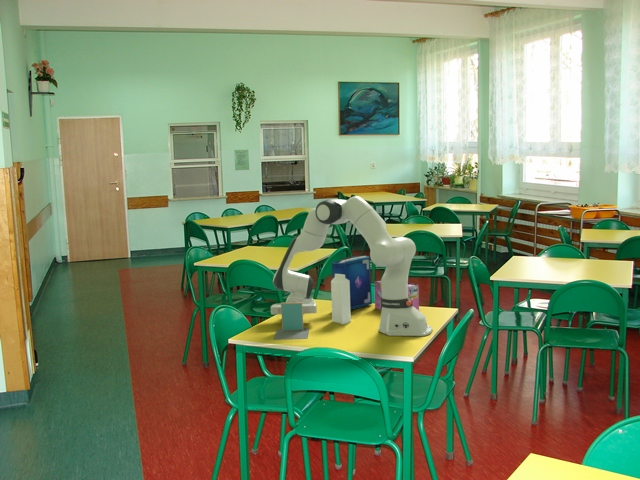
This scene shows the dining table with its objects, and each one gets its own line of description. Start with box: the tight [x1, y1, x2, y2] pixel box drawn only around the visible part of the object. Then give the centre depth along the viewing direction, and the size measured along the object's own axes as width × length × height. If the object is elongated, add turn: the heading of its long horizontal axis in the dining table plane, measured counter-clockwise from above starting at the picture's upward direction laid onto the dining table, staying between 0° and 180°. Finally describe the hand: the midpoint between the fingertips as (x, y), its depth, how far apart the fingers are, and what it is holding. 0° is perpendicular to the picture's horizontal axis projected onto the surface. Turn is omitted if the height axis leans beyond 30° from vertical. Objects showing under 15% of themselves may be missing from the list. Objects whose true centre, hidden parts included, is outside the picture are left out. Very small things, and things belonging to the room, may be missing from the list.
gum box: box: [374, 280, 420, 311], centre depth 311 cm, size 24×8×14 cm, turn 39°
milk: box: [330, 274, 352, 326], centre depth 290 cm, size 6×6×22 cm
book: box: [331, 255, 373, 311], centre depth 318 cm, size 22×7×25 cm, turn 132°
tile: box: [281, 301, 305, 331], centre depth 277 cm, size 2×9×12 cm, turn 88°
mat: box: [273, 327, 310, 341], centre depth 272 cm, size 17×14×1 cm
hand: (292, 312), depth 278 cm, fingers closed
